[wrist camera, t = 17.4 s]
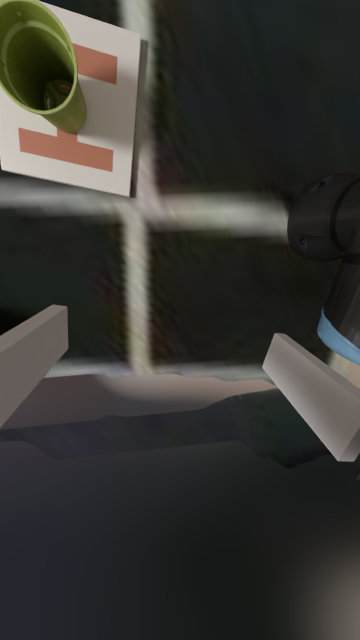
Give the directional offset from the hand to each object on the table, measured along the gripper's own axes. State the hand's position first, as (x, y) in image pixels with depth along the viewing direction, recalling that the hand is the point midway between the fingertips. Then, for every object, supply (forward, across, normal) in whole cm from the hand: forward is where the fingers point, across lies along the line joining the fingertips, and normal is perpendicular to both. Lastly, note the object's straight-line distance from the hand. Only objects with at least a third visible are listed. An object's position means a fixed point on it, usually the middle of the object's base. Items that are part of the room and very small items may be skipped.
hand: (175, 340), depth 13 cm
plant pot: (+30, +18, -22) cm, 41 cm away
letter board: (+31, +18, -22) cm, 42 cm away
